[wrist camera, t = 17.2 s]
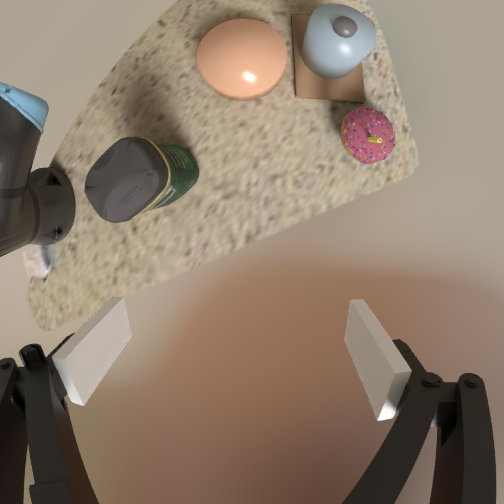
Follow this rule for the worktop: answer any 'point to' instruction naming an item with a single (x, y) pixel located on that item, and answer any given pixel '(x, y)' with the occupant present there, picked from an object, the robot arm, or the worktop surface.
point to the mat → (318, 86)
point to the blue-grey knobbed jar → (336, 40)
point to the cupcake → (367, 135)
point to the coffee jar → (138, 178)
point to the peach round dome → (242, 59)
